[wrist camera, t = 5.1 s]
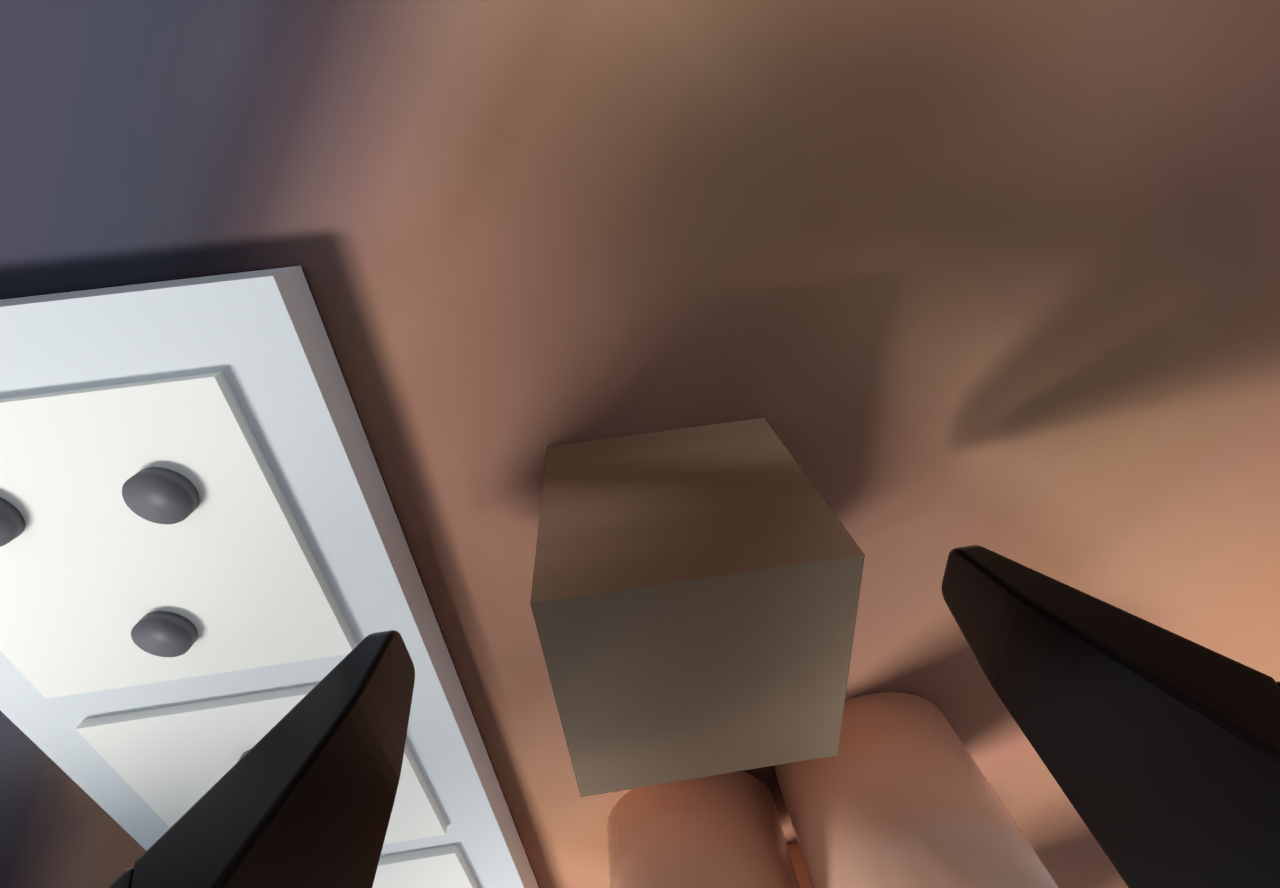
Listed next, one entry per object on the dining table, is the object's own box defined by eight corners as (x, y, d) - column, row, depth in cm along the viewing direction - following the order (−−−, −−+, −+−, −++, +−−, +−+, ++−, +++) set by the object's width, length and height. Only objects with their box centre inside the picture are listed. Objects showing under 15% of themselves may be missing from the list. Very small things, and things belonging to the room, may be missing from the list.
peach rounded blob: (768, 813, 16) (839, 1057, 12) (782, 702, 14) (876, 952, 9) (927, 793, 16) (1054, 1023, 12) (966, 682, 14) (1141, 915, 10)
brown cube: (579, 605, 12) (581, 796, 8) (547, 443, 10) (530, 603, 6) (759, 578, 12) (837, 755, 8) (762, 415, 10) (864, 555, 6)
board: (305, 959, 17) (287, 1010, 16) (-286, 332, 7) (-427, 359, 6) (549, 917, 18) (548, 964, 17) (300, 265, 8) (257, 282, 7)
